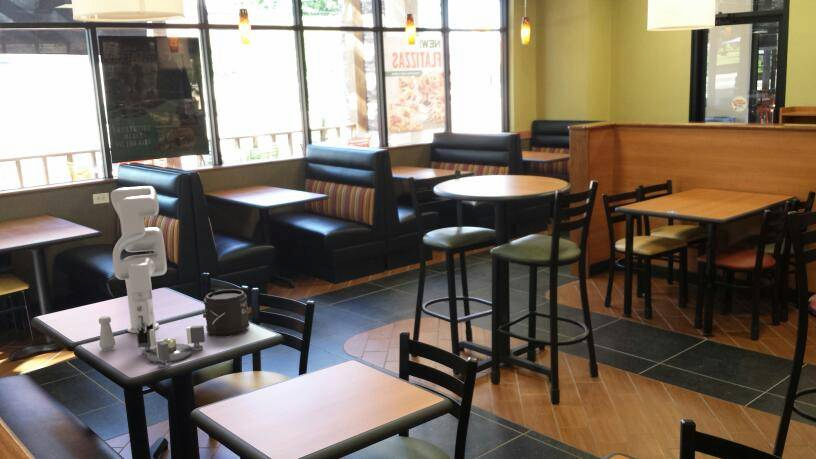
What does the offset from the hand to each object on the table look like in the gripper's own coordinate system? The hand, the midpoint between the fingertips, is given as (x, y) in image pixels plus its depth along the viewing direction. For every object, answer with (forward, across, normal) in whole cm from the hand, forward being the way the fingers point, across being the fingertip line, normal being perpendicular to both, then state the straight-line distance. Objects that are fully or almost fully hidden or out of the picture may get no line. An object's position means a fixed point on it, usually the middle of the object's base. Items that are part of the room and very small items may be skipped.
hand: (146, 338), depth 278 cm
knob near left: (+4, 0, -18) cm, 19 cm away
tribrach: (+6, -8, -9) cm, 13 cm away
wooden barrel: (+6, +21, -27) cm, 35 cm away
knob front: (+4, -16, -9) cm, 19 cm away
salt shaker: (+6, +9, +17) cm, 20 cm away
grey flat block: (+4, 0, 0) cm, 4 cm away
